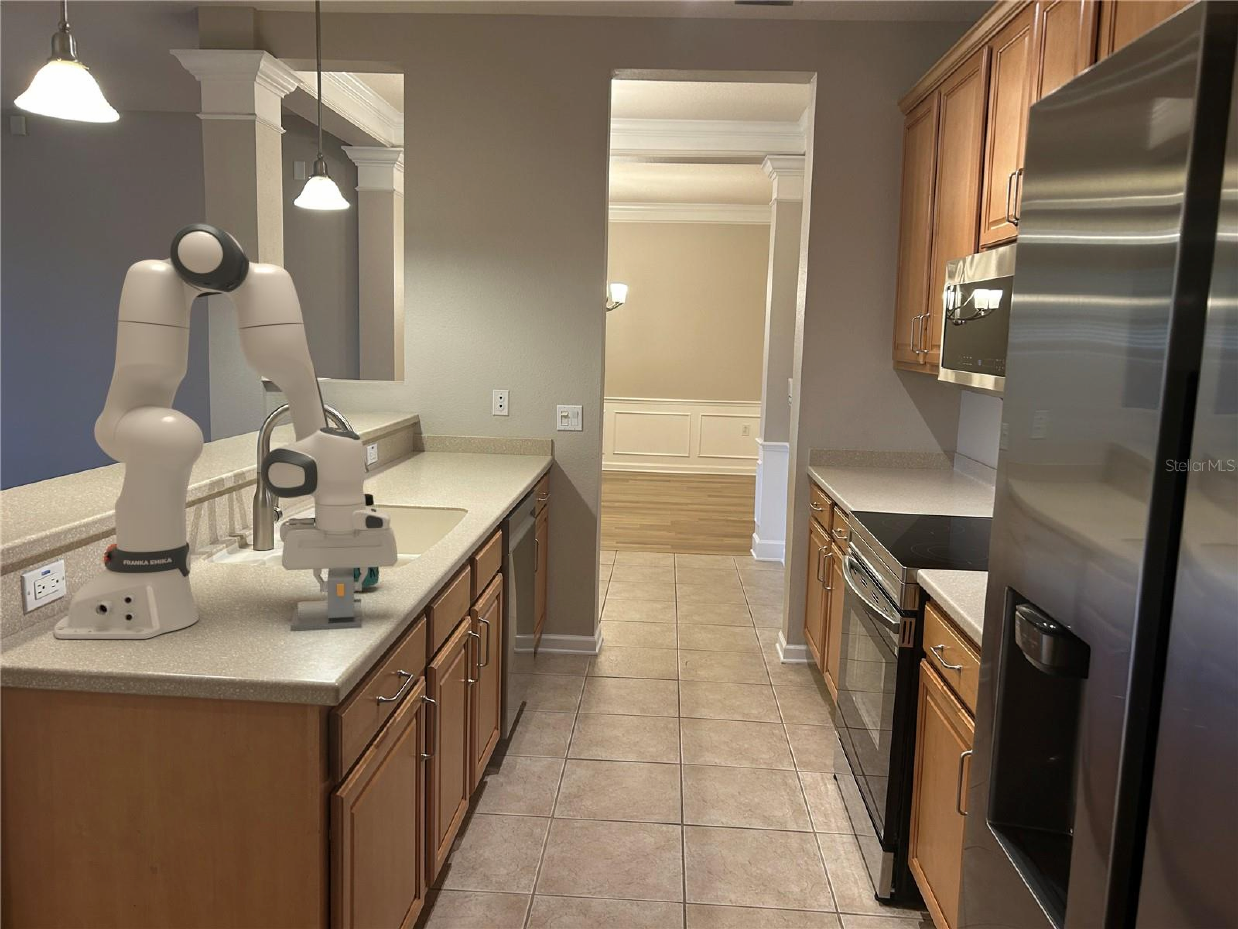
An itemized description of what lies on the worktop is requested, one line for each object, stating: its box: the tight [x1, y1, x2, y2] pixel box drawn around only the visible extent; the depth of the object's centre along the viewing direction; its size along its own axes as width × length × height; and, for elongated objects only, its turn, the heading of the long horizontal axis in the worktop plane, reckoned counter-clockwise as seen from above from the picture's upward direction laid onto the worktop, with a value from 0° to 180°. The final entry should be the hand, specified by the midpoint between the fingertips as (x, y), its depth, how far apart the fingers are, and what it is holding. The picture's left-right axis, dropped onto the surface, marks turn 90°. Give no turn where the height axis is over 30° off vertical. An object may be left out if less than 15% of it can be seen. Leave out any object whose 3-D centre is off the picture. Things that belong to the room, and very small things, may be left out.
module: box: [326, 568, 355, 618], centre depth 168 cm, size 4×9×7 cm, turn 16°
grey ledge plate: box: [290, 598, 362, 632], centre depth 167 cm, size 12×10×4 cm
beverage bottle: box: [354, 493, 380, 588], centre depth 187 cm, size 6×7×20 cm
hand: (341, 591), depth 168 cm, fingers closed on module, 4 cm apart
